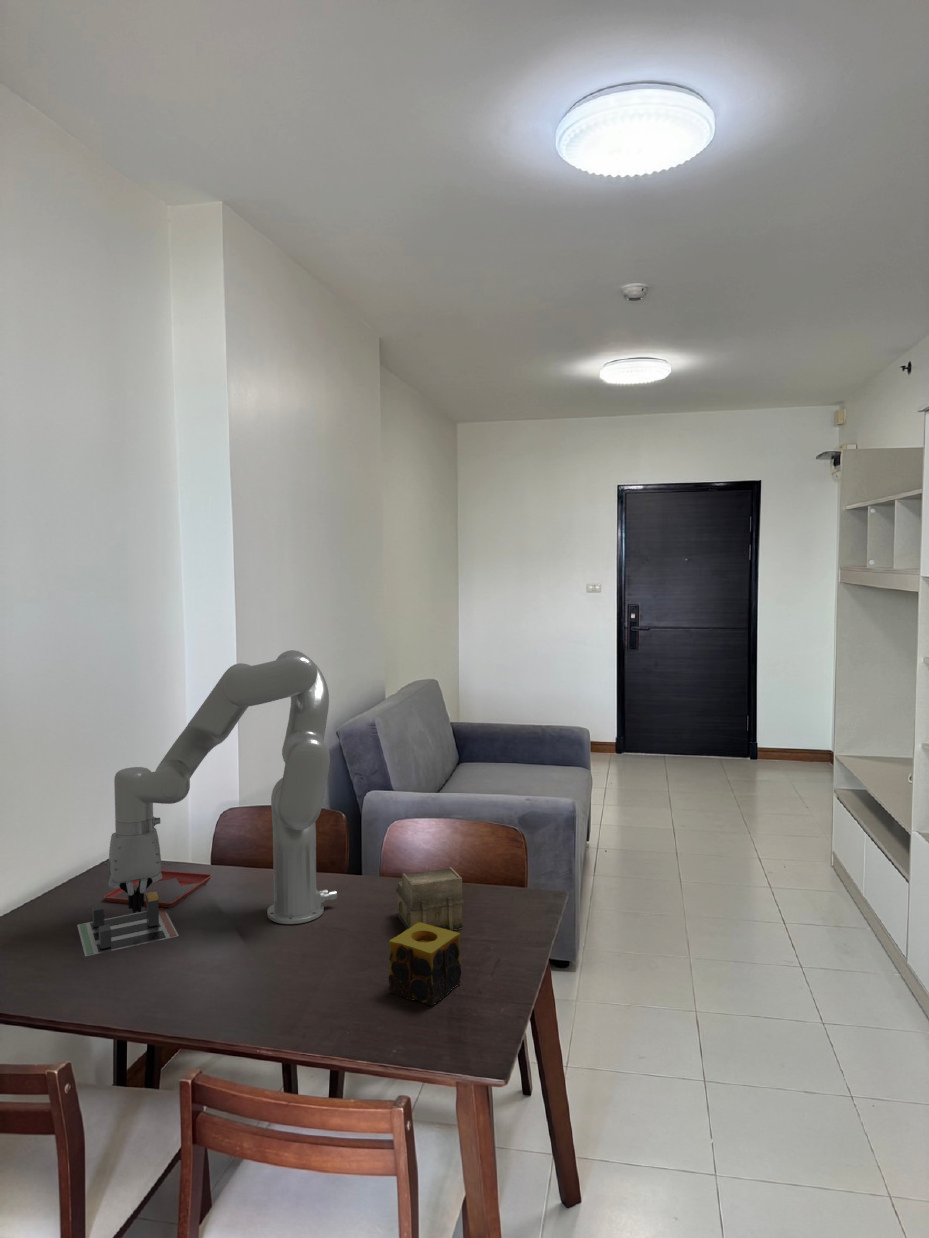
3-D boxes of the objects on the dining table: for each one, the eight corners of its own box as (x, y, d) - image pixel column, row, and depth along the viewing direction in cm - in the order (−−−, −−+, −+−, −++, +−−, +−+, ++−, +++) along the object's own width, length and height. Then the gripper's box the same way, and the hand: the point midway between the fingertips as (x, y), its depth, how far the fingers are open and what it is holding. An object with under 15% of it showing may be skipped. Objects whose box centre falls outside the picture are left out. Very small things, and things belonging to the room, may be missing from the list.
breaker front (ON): (109, 940, 170) (109, 924, 170) (111, 946, 168) (111, 929, 167) (99, 942, 169) (98, 926, 169) (100, 948, 167) (100, 931, 166)
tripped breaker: (156, 919, 180) (155, 891, 180) (159, 924, 178) (158, 896, 177) (146, 921, 179) (145, 893, 179) (148, 926, 177) (148, 898, 176)
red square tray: (102, 909, 191) (102, 895, 191) (149, 881, 209) (149, 868, 209) (171, 917, 187) (171, 902, 187) (213, 887, 205) (213, 874, 204)
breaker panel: (164, 913, 188) (163, 906, 188) (179, 942, 173) (178, 935, 173) (77, 931, 179) (77, 924, 179) (85, 963, 164) (85, 955, 164)
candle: (432, 1008, 147) (432, 954, 147) (387, 993, 152) (386, 940, 152) (462, 984, 156) (462, 932, 155) (418, 970, 161) (418, 920, 160)
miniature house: (474, 931, 179) (474, 879, 178) (412, 941, 174) (412, 888, 173) (452, 904, 193) (451, 857, 192) (393, 913, 188) (393, 864, 187)
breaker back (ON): (102, 919, 180) (102, 903, 180) (104, 924, 178) (103, 908, 178) (92, 921, 179) (92, 905, 179) (94, 926, 177) (93, 910, 177)
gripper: (167, 816, 183) (169, 897, 184) (94, 827, 175) (96, 911, 176) (174, 825, 176) (176, 909, 177) (98, 836, 169) (100, 924, 170)
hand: (136, 910), depth 177 cm, fingers closed
